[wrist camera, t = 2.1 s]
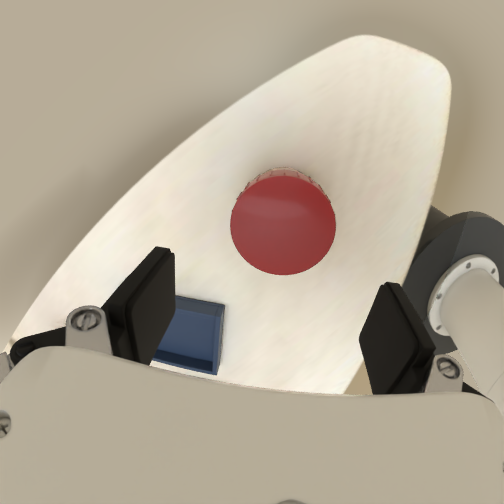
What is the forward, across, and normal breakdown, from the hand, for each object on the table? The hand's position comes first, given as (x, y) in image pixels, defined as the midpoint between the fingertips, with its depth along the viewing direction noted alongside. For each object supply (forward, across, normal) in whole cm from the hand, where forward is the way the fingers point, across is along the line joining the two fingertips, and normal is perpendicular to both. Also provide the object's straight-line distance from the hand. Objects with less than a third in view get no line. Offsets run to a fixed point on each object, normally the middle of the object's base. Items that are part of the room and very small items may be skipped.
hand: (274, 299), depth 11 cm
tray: (+16, +10, +18) cm, 27 cm away
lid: (+9, 0, 0) cm, 9 cm away
